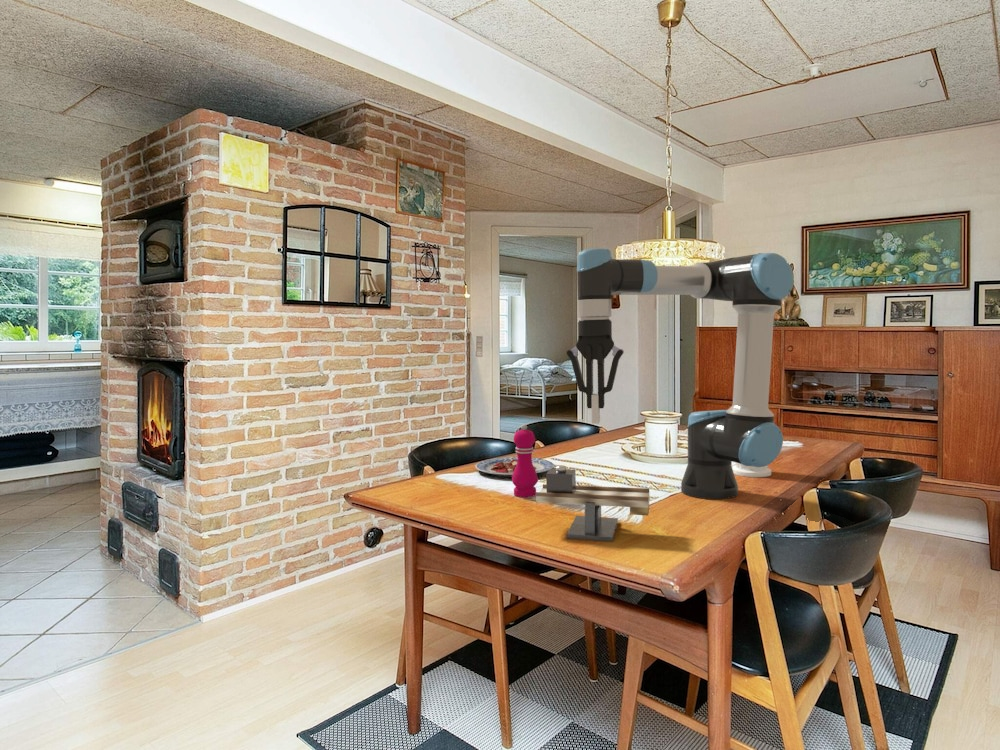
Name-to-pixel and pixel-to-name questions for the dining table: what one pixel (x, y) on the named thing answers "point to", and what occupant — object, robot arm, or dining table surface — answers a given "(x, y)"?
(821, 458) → the dining table surface
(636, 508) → the beam
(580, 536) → the stand
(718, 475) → the robot arm
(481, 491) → the dining table surface
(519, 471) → the pepper mill
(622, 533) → the dining table surface
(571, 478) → the block
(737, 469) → the decorative container
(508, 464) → the ceramic plate
